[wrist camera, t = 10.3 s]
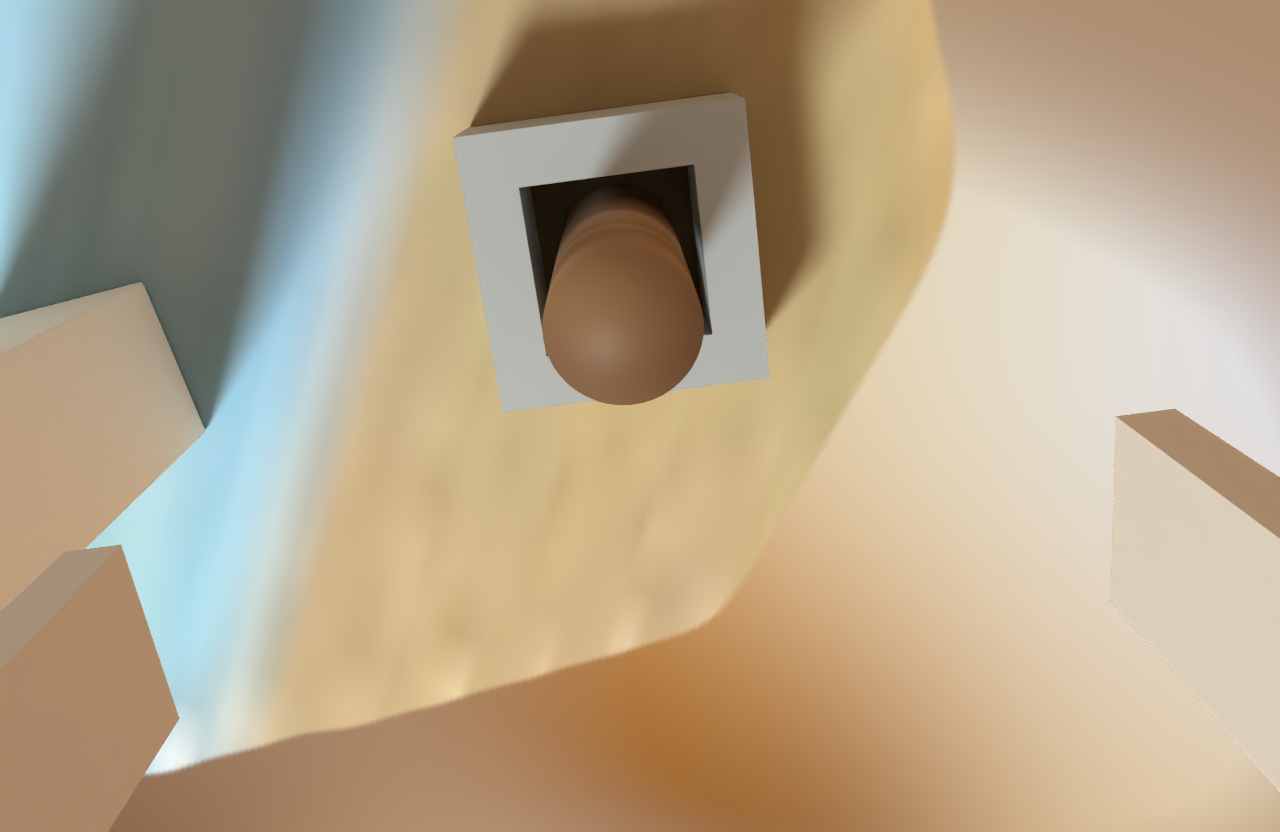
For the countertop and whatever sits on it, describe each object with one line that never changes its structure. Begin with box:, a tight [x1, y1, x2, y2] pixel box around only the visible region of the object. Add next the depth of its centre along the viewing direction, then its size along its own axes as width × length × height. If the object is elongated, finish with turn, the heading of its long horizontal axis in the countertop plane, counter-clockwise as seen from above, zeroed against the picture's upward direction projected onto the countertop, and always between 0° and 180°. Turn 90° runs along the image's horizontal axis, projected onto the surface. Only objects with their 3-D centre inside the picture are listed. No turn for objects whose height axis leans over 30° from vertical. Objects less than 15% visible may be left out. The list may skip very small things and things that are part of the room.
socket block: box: [453, 92, 770, 412], centre depth 35 cm, size 9×9×4 cm
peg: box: [542, 184, 704, 405], centre depth 31 cm, size 4×4×12 cm
